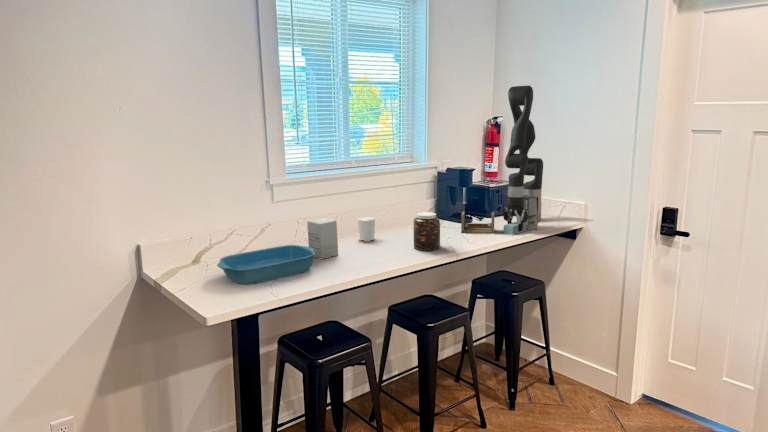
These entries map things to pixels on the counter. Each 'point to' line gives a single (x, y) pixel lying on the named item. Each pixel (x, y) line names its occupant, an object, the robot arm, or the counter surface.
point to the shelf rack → (477, 226)
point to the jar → (426, 232)
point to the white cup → (366, 228)
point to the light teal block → (513, 228)
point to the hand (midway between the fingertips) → (514, 229)
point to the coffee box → (531, 212)
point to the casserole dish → (267, 263)
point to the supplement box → (323, 237)
